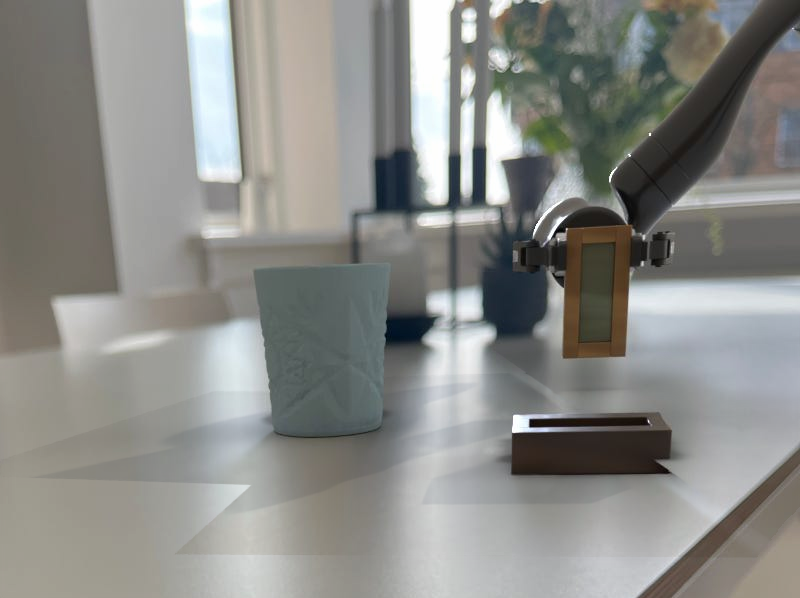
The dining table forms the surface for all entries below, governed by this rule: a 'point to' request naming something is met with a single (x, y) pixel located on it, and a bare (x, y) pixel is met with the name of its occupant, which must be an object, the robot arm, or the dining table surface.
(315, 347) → the pale blue-green cup
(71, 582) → the dining table surface
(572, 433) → the holder
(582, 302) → the frame
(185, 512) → the dining table surface
